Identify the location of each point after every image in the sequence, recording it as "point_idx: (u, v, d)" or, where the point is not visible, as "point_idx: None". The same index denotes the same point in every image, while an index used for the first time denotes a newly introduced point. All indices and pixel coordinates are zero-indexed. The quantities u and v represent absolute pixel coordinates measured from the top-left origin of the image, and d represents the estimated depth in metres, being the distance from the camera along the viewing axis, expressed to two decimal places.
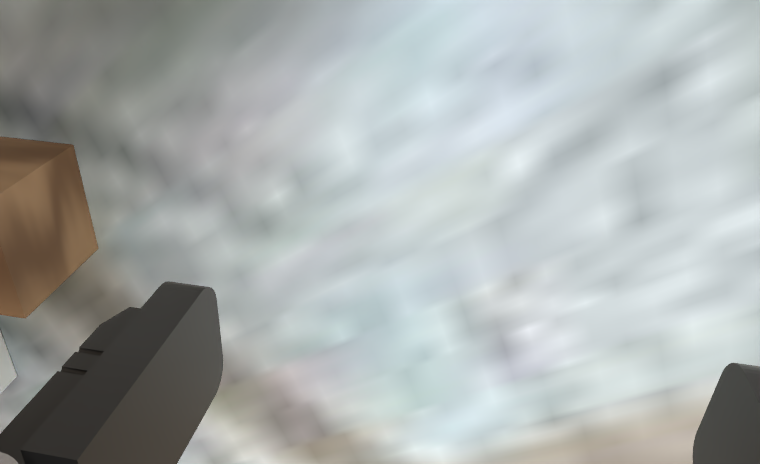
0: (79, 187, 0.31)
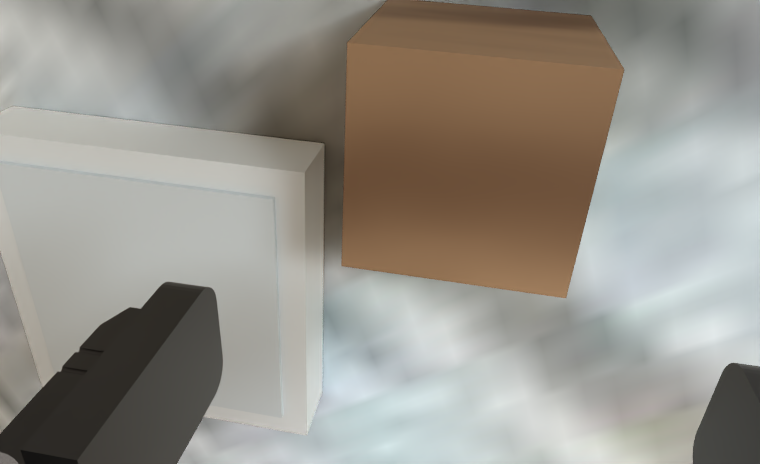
0: None
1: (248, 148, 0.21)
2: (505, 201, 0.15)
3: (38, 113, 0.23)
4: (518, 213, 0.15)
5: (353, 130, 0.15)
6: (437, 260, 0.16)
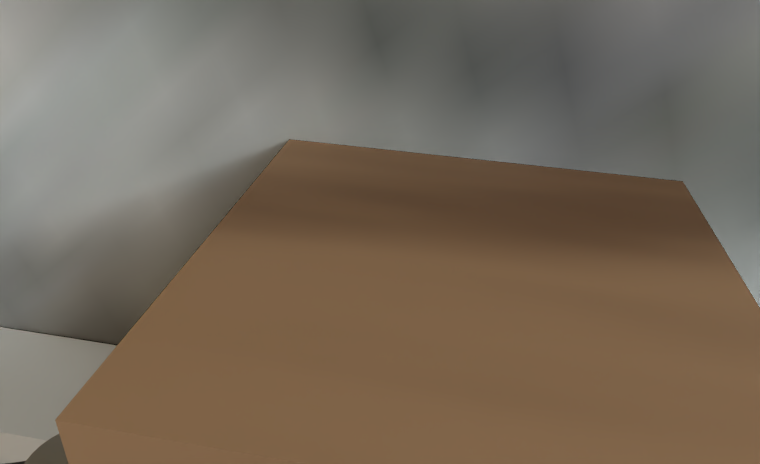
0: None
1: (56, 381, 0.12)
2: None
3: None
4: None
5: None
6: None
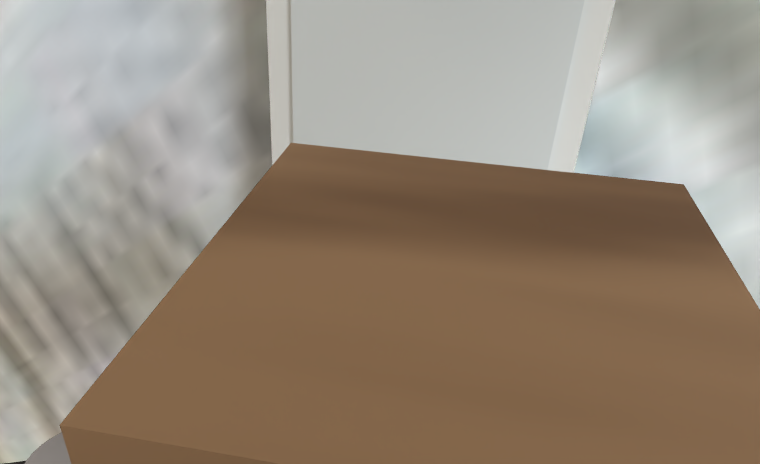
0: None
1: None
2: None
3: None
4: None
5: None
6: None
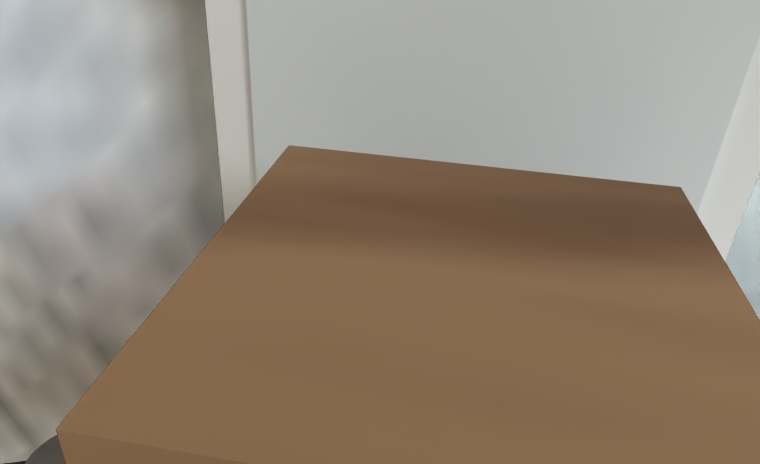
0: None
1: None
2: None
3: None
4: None
5: None
6: None
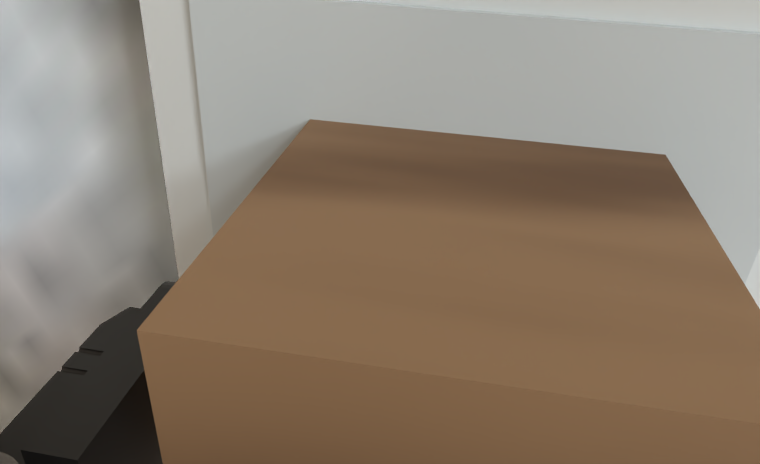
0: None
1: None
2: None
3: None
4: None
5: None
6: None
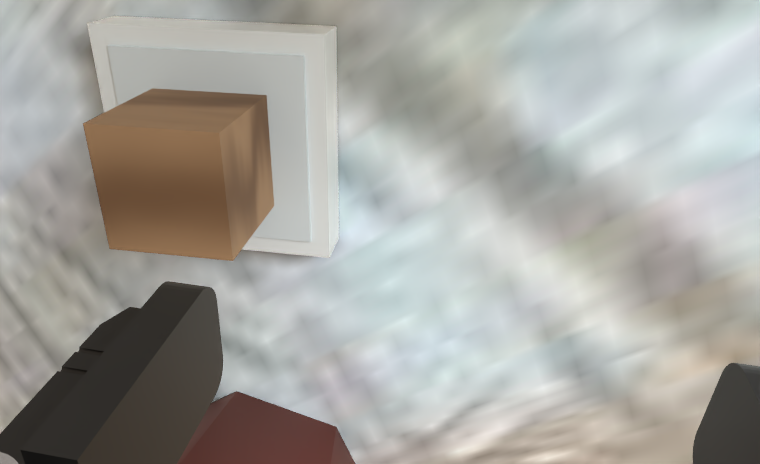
0: (267, 139, 0.31)
1: (284, 27, 0.30)
2: (184, 205, 0.27)
3: (133, 18, 0.32)
4: (192, 211, 0.27)
5: (97, 169, 0.27)
6: (159, 242, 0.28)
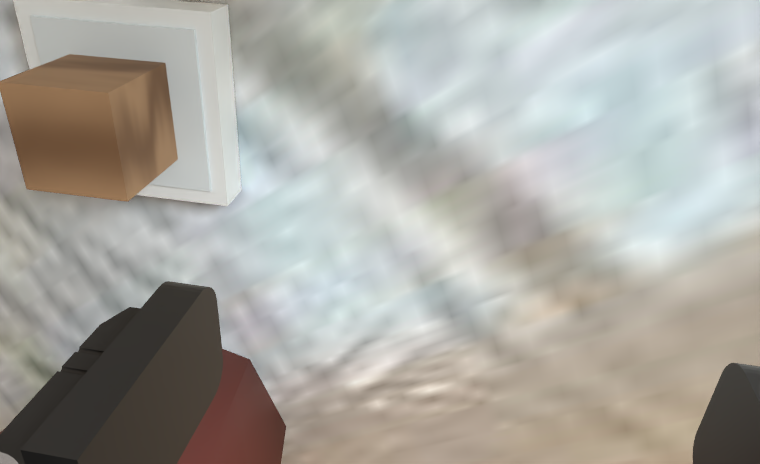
0: (167, 101, 0.36)
1: (181, 4, 0.35)
2: (85, 153, 0.32)
3: None
4: (92, 159, 0.32)
5: (12, 121, 0.32)
6: (67, 184, 0.33)
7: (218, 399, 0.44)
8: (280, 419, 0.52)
